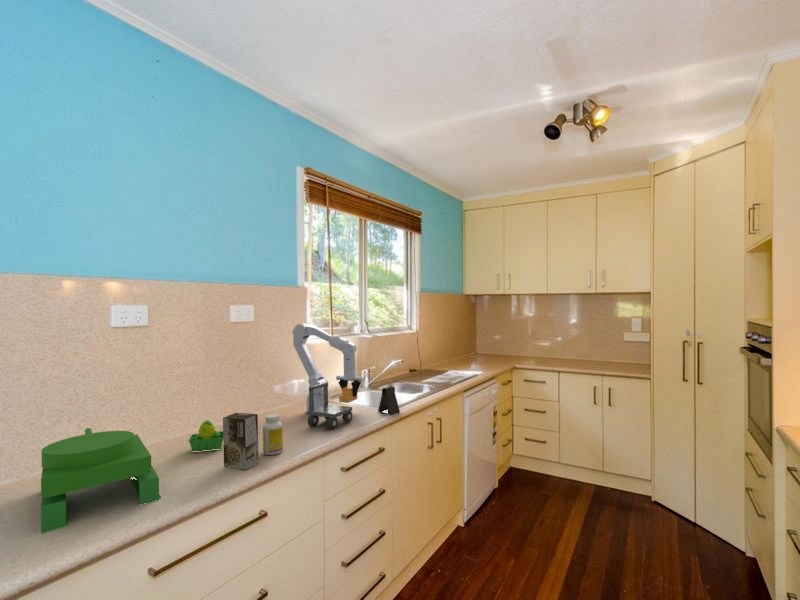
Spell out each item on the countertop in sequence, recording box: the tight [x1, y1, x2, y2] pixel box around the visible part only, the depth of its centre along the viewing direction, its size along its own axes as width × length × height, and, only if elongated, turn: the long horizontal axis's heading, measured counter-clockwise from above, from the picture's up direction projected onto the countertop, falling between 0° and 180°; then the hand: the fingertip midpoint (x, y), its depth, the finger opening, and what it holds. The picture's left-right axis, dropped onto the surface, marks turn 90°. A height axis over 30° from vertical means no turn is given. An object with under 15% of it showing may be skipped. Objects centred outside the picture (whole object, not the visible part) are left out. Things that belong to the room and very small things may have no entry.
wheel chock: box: [338, 385, 358, 404], centre depth 192 cm, size 5×8×6 cm, turn 153°
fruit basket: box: [188, 420, 223, 452], centre depth 145 cm, size 11×9×11 cm
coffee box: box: [222, 412, 260, 471], centre depth 131 cm, size 9×6×16 cm
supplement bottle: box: [262, 413, 284, 456], centre depth 142 cm, size 7×7×13 cm
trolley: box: [307, 381, 353, 418], centre depth 175 cm, size 14×13×12 cm
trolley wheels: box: [307, 411, 353, 431], centre depth 174 cm, size 12×16×5 cm
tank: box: [40, 427, 162, 534], centre depth 114 cm, size 24×35×16 cm
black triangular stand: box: [377, 386, 401, 416], centre depth 192 cm, size 9×6×12 cm, turn 47°
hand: (350, 395), depth 193 cm, fingers closed on wheel chock, 5 cm apart
